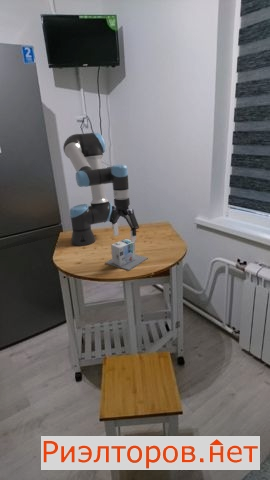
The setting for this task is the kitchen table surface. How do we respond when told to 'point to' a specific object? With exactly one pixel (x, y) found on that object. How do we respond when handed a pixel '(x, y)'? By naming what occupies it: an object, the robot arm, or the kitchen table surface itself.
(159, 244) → the kitchen table surface
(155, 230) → the kitchen table surface
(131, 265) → the grey mat
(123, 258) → the light bulb box
